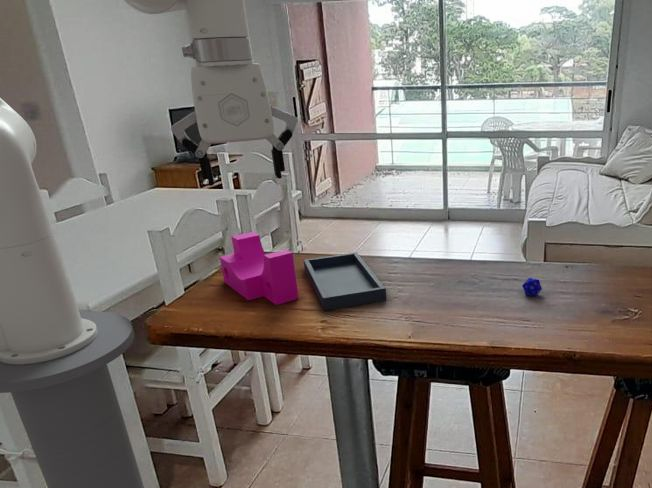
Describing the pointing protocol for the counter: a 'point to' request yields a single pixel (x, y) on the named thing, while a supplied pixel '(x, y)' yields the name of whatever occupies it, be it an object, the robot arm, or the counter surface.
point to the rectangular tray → (343, 281)
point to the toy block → (259, 270)
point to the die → (532, 287)
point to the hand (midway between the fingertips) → (245, 180)
